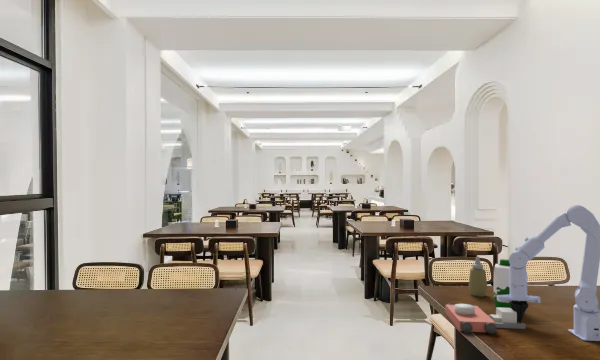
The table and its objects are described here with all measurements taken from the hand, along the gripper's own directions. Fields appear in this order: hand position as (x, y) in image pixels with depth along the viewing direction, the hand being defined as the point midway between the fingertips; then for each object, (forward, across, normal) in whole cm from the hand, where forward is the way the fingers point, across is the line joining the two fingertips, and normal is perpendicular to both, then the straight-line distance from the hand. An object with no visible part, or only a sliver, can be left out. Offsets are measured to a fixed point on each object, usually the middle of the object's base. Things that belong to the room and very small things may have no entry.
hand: (518, 321), depth 148 cm
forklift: (+1, +12, 0) cm, 12 cm away
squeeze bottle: (+1, +2, -40) cm, 40 cm away
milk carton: (+1, -2, -18) cm, 18 cm away
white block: (+1, +6, 0) cm, 6 cm away
